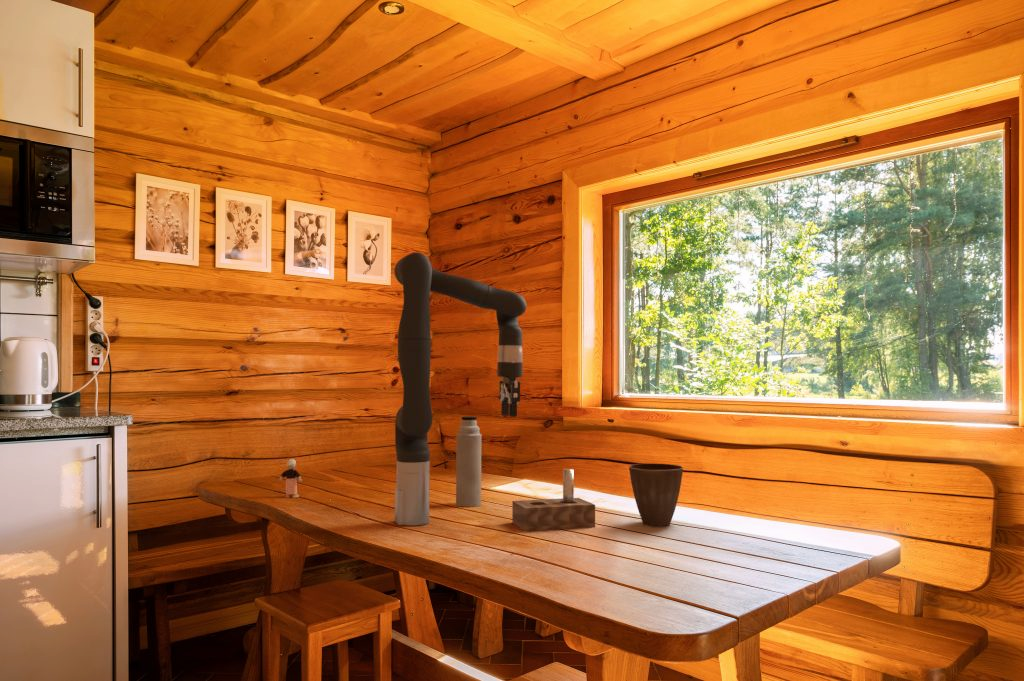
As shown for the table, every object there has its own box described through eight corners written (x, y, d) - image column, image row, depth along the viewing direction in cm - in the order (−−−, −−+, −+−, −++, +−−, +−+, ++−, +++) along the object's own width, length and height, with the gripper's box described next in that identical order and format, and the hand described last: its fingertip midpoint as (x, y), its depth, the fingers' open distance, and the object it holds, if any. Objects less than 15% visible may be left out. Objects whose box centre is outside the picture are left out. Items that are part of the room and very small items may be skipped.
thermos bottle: (458, 502, 244) (459, 415, 245) (482, 502, 243) (483, 416, 244) (454, 506, 236) (454, 417, 237) (479, 507, 235) (479, 417, 236)
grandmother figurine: (303, 495, 255) (303, 458, 256) (300, 497, 251) (301, 459, 252) (280, 496, 255) (280, 458, 255) (277, 497, 251) (278, 459, 252)
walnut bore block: (525, 531, 200) (525, 507, 200) (512, 522, 211) (512, 500, 212) (595, 526, 206) (595, 504, 206) (578, 518, 217) (578, 497, 218)
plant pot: (659, 531, 200) (659, 471, 200) (617, 523, 211) (617, 465, 212) (694, 524, 209) (694, 467, 210) (652, 516, 221) (652, 462, 221)
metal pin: (565, 521, 208) (565, 470, 209) (561, 519, 211) (561, 469, 212) (575, 520, 209) (575, 470, 210) (571, 518, 212) (571, 468, 213)
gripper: (491, 361, 229) (490, 414, 228) (504, 360, 215) (503, 417, 215) (515, 361, 231) (514, 414, 230) (529, 361, 217) (528, 417, 217)
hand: (508, 415), depth 222 cm, fingers open, 8 cm apart
